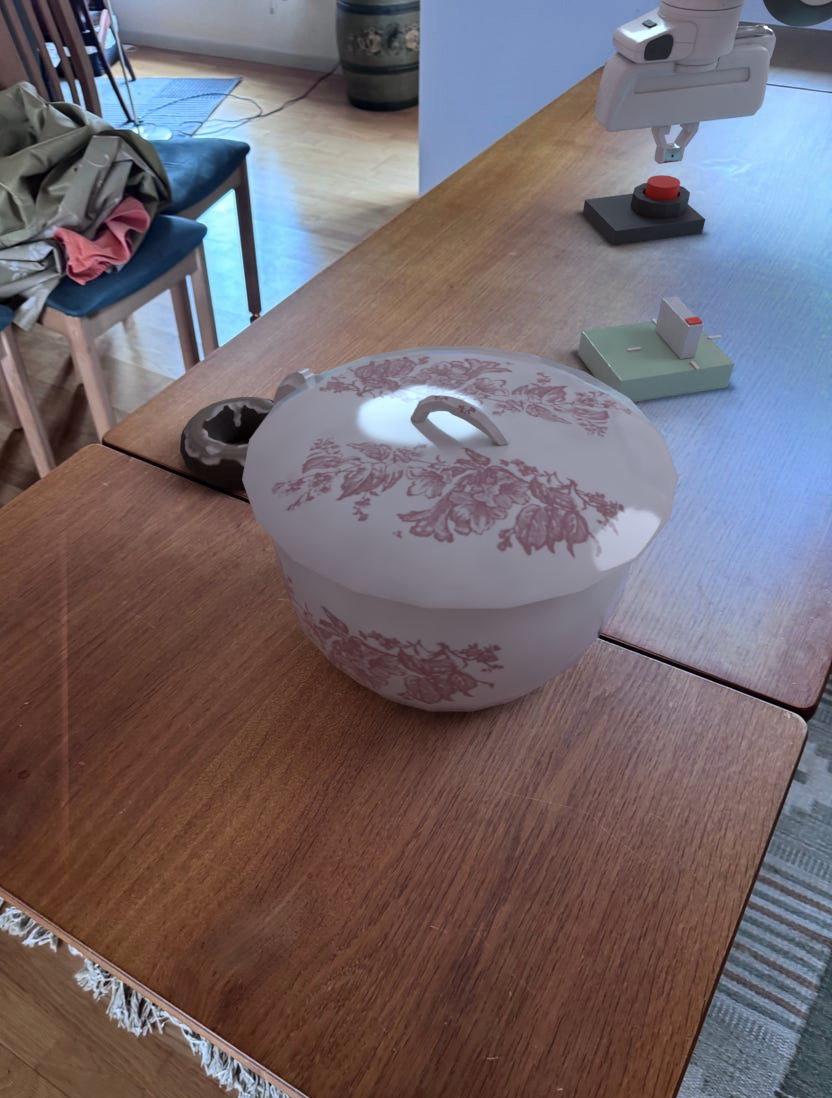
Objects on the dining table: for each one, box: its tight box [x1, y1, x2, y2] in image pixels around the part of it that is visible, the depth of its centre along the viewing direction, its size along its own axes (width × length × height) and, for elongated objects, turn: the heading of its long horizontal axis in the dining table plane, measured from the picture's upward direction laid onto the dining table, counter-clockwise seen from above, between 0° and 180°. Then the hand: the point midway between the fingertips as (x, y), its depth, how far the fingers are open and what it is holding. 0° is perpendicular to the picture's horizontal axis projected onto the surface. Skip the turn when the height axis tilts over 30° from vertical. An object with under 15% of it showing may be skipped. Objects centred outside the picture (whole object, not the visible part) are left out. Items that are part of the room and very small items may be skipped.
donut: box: [179, 396, 274, 490], centre depth 85 cm, size 12×12×4 cm
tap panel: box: [577, 317, 735, 403], centre depth 93 cm, size 13×10×3 cm
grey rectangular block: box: [655, 296, 705, 359], centre depth 91 cm, size 6×2×4 cm, turn 12°
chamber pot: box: [242, 345, 679, 712], centre depth 63 cm, size 28×28×21 cm
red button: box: [645, 174, 681, 200], centre depth 115 cm, size 4×4×2 cm
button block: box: [582, 182, 706, 247], centre depth 116 cm, size 12×10×4 cm
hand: (667, 161), depth 113 cm, fingers closed
